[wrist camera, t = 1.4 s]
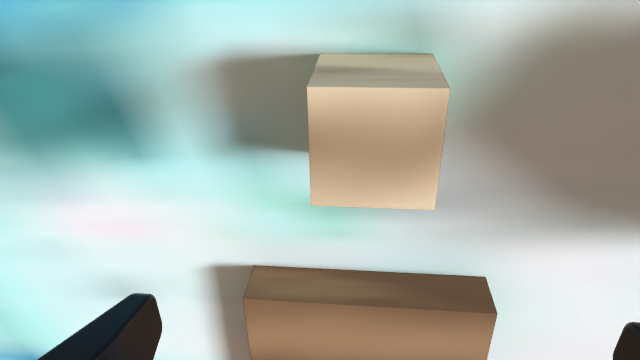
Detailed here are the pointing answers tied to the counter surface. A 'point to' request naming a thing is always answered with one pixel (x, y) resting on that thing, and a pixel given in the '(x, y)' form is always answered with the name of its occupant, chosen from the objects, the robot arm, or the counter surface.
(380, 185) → the maple cube
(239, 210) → the counter surface
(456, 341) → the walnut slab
